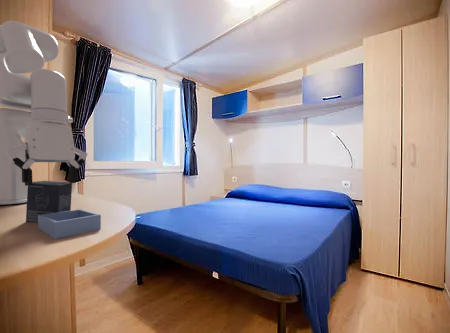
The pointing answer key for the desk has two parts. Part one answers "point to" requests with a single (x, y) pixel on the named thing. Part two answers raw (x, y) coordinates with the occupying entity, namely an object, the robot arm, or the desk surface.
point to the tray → (69, 223)
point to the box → (47, 199)
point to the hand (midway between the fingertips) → (52, 184)
